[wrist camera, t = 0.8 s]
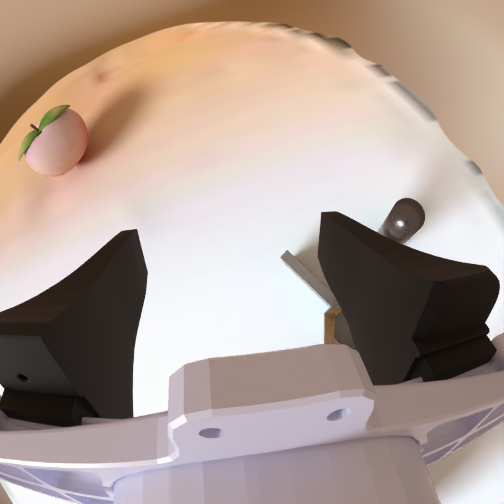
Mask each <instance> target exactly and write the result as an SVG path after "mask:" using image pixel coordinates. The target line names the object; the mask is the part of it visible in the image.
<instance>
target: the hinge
mask: <svg viewBox="0 0 504 504" xmlns="http://www.w3.org/2000/svg"><path fill="white" fill-rule="evenodd" d="M281 259H282V260H283V262H284V263H285V265H286V266H288V267H289V268H290V269H291V270H292V271H293V272H294V273H295V274H296V275H297V276H298V277H299V278H300V279H301V280H302V281H303V282H304V283H305V284H306V285H307V286H308V287H309V288H310V289H311V290H312V291H313V292H314V293H315V294H317V295H318V296H319V297H320V298H321V299H322V300H323V301H324V302H325V303H326V304H327V305H328V306H329V307H330V308H329V309H328V310H327V311H326V312H325V313H324V344H340V343H339V342H338V341H337V340H336V339H335V317H336V316H337V315H338V314H339V313H340V312H341V311H342V310H341V308H340V306H339V304H338V302H337V300H336V298H335V296H334V294H333V293H332V292H331V291H330V290H329V289H328V288H327V287H326V286H325V285H324V284H323V283H322V282H320V281H319V280H318V279H317V278H316V277H315V276H314V275H313V274H312V273H311V272H310V271H309V270H308V269H307V268H306V267H305V266H304V265H303V264H302V263H301V262H299V261H298V260H297V259H296V258H295V257H294V256H293V255H292V254H291V253H290V252H289V251H288V250H287V251H286V252H285V253H284V254H283V255H282V256H281ZM354 350H355V351H357V349H354Z"/></svg>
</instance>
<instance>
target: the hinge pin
mask: <svg viewBox="0 0 504 504" xmlns="http://www.w3.org/2000/svg"><path fill="white" fill-rule="evenodd" d="M424 221H425V213H424V210H423V208H422V206H421V205H420V204H419V203H418V202H417V201H415V200H413V199H410V198H403V199H401V200H399V201H397V202H396V204H395V205H394V207H393V208H392V210H391V212H390V213H389V215H388V216H387V218H386V220H385V221H384V223H383V224H382V226H381V228H380V229H379V231H378V232H377V233H379V234H381V235H383V236H385V237H387V238H389V239H391V240H393V241H396V242H398V243H400V244H404V243H405V242H406V241H407V240H408V239H410V238H411V237H412V236H413V235H414V234H415V233H416V232H417V231H418V230H419V229H420V228H421V227H422V226H423V224H424Z"/></svg>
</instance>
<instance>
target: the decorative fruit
mask: <svg viewBox="0 0 504 504" xmlns="http://www.w3.org/2000/svg"><path fill="white" fill-rule="evenodd" d="M68 107H70V105H61V106H58V107H55V108H53V109H51V110H50V111H48V112H47V113H46V114H45V115H44V116H43V117H42V118H41V119H40V121H39V123H38V126H37V127H35V126H34V125H33V124H31V125H30V126H31V127H32V128H34V130H33V131H31V132H30V133H29V134H28V135H27V136H26V137H25V138H24V140H23V142H22V144H21V146H20V150H19V161H20V159H21V157H22V155H23V154H24V152H25V159H26V161H27V163H28V164H29V166H30V167H31V168H32V169H33V170H34V171H36V172H37V173H39V174H41V175H44V176H49V177H56V176H61V175H64V174H66V173H67V172H69V171H70V170H71V169H73V168H74V167H75V166H76V164H77V163H78V162H79V161H80V159H81V158H82V156H83V154H84V152H85V150H86V148H87V144H88V133H87V128H86V125H85V123H84V121H83V119H82V118H81V116H80V115H79V114H78V113H76V112H75V111H73V110H71V109H68Z"/></svg>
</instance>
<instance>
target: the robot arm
mask: <svg viewBox="0 0 504 504" xmlns="http://www.w3.org/2000/svg"><path fill="white" fill-rule="evenodd" d="M318 259H319V262H320V265H321V268H322V271H323V273H324V276H325V278H326V280H327V282H328V284H329V286H330V288H331V290H332V292H333V294H334V296H335V298H336V300H337V302H338V304H339V306H340V308H341V310H342V312H343V314H344V316H345V318H346V320H347V323H348V325H349V328H350V331H351V334H352V337H353V340H354V343H355V346H356V349H357V351H355V350H354V349H352V348H350V347H349V346H347V345H343V344H319V345H313V346H307V347H300V348H293V349H286V350H279V351H272V352H264V353H255V354H247V355H237V356H227V357H216V358H208V359H204V360H200V361H196V362H192V363H187V364H185V365H183V366H182V367H181V368H180V369H179V370H177V371H176V372H175V373H174V374H172V375H171V376H170V380H169V400H168V411H164V412H160V413H155V414H150V415H145V416H139V417H134V418H133V362H134V348H135V341H136V335H137V331H138V326H139V321H140V317H141V312H142V308H143V304H144V299H145V294H146V286H147V275H148V271H147V268H146V264H145V260H144V256H143V252H142V248H141V244H140V240H139V235H138V231H137V229H133V230H125V231H121V232H120V233H119V234H117V235H116V236H115V237H114V238H112V239H111V240H110V241H109V242H108V243H107V244H106V245H104V246H103V247H102V248H101V249H100V250H99V251H98V252H97V253H95V254H94V255H93V256H92V257H91V258H90V259H88V260H87V261H86V262H85V263H84V264H82V265H81V266H80V267H79V268H78V269H76V270H75V271H74V272H72V273H71V274H70V275H68V276H67V277H66V278H64V279H63V280H61V281H60V282H58V283H57V284H55V285H54V286H52V287H50V288H49V289H47V290H45V291H44V292H42V293H40V294H39V295H37V296H35V297H33V298H31V299H29V300H27V301H25V302H23V303H21V304H19V305H17V306H15V307H12V308H10V309H7V310H5V311H2V312H0V384H1V385H2V386H3V388H5V389H4V392H3V395H2V396H1V395H0V479H2V480H5V481H8V482H10V483H13V484H16V485H19V486H22V487H25V488H28V489H31V490H34V491H37V492H40V493H43V494H46V495H49V496H52V497H56V498H59V499H63V500H66V501H70V502H74V503H77V504H441V503H440V501H439V498H438V495H437V492H436V490H435V487H434V485H433V482H432V479H431V477H430V474H429V472H428V469H427V467H426V466H428V465H430V464H432V463H434V462H436V461H438V460H440V459H442V458H443V457H445V456H447V455H449V454H451V453H452V452H454V451H456V450H458V449H460V448H461V447H463V446H465V445H466V444H468V443H470V442H471V441H473V440H475V439H476V438H478V437H479V436H481V435H483V434H484V433H486V432H487V431H489V430H491V429H492V428H494V427H495V426H497V425H498V424H500V423H501V422H503V421H504V333H502V334H500V335H498V336H496V337H495V338H494V339H493V340H492V341H490V339H489V338H488V337H487V334H488V333H489V328H488V326H487V325H486V324H485V322H486V320H487V318H488V316H489V314H490V313H491V311H492V309H493V307H494V305H495V303H496V300H497V298H498V295H499V289H500V284H499V280H498V278H497V277H496V275H495V274H494V273H493V272H492V271H491V270H490V269H489V268H488V267H486V266H483V265H477V264H470V263H463V262H458V261H453V260H449V259H445V258H441V257H437V256H434V255H431V254H427V253H424V252H421V251H418V250H415V249H413V248H410V247H408V246H405V245H403V244H400V243H398V242H396V241H393V240H391V239H389V238H387V237H385V236H383V235H381V234H379V233H377V232H375V231H373V230H372V229H370V228H368V227H366V226H364V225H362V224H360V223H359V222H357V221H355V220H353V219H351V218H349V217H347V216H345V215H343V214H341V213H339V212H336V211H334V212H321V223H320V235H319V246H318Z"/></svg>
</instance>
